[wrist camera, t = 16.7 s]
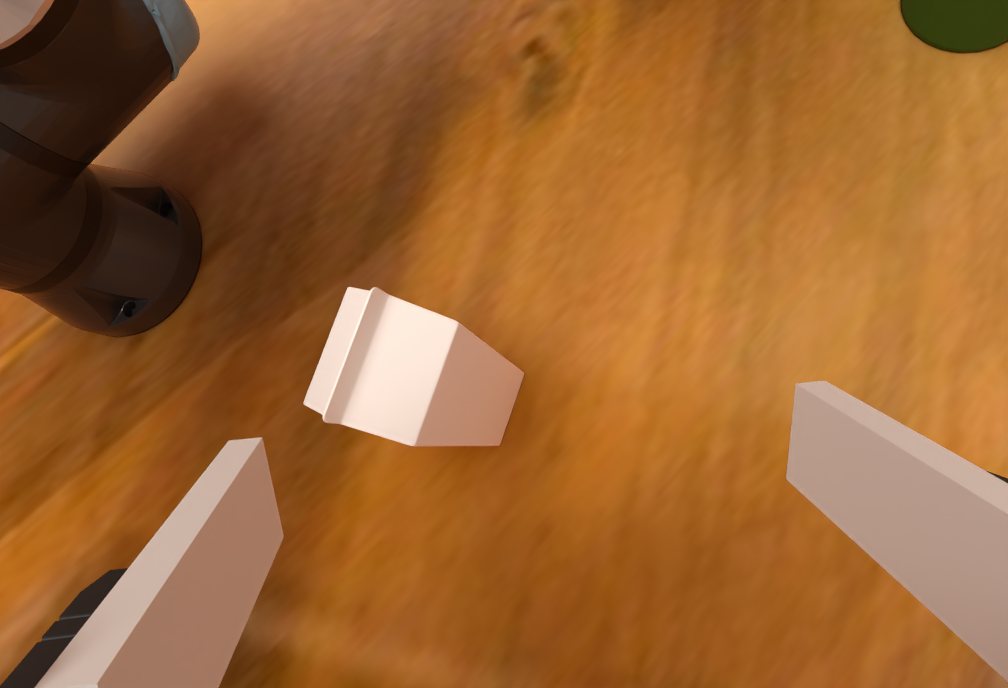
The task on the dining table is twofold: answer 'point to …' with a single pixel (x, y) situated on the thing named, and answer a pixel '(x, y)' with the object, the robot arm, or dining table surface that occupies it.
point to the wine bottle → (958, 23)
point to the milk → (411, 375)
